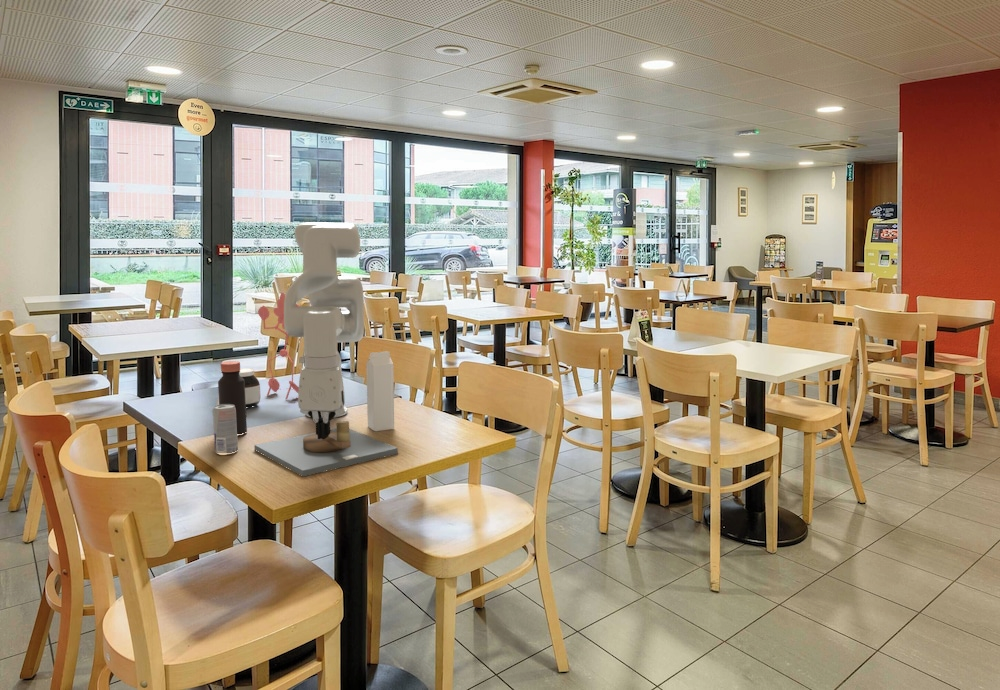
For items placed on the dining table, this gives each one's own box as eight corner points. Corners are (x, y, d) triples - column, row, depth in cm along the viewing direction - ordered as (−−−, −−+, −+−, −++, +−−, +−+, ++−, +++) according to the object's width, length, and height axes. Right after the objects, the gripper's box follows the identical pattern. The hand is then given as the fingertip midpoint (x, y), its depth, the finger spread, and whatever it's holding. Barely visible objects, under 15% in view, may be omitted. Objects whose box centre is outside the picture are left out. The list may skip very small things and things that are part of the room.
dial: (295, 444, 179) (294, 414, 177) (334, 436, 186) (333, 407, 185) (326, 460, 167) (325, 427, 166) (366, 451, 174) (365, 419, 173)
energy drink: (229, 448, 181) (227, 402, 179) (242, 451, 178) (240, 405, 176) (210, 453, 177) (208, 406, 175) (223, 457, 174) (221, 410, 172)
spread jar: (264, 406, 225) (263, 370, 223) (234, 413, 216) (232, 376, 214) (240, 400, 231) (238, 366, 230) (210, 407, 222) (208, 371, 220)
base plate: (254, 450, 179) (254, 444, 179) (344, 431, 197) (344, 425, 196) (302, 476, 160) (302, 469, 160) (397, 453, 178) (397, 447, 178)
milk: (394, 429, 200) (393, 353, 197) (374, 431, 197) (373, 354, 194) (387, 423, 205) (386, 349, 202) (367, 426, 202) (366, 351, 199)
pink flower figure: (302, 403, 228) (299, 295, 223) (248, 393, 241) (245, 291, 236) (335, 395, 241) (334, 293, 236) (283, 386, 254) (281, 290, 249)
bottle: (222, 438, 189) (218, 365, 186) (219, 432, 195) (215, 361, 192) (248, 435, 192) (245, 363, 189) (245, 429, 198) (241, 359, 195)
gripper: (284, 364, 163) (287, 440, 166) (346, 366, 161) (348, 443, 164) (297, 358, 171) (299, 432, 173) (356, 360, 169) (358, 434, 172)
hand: (323, 437), depth 169 cm, fingers closed
